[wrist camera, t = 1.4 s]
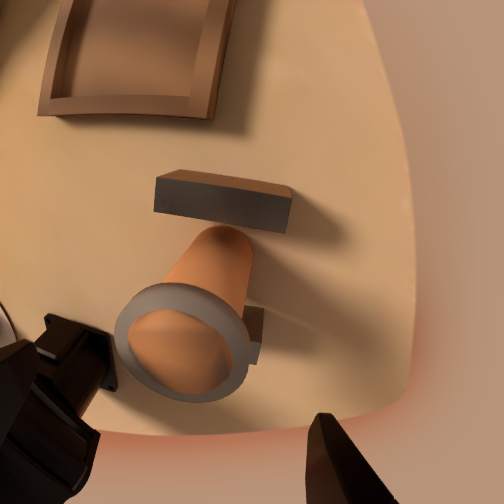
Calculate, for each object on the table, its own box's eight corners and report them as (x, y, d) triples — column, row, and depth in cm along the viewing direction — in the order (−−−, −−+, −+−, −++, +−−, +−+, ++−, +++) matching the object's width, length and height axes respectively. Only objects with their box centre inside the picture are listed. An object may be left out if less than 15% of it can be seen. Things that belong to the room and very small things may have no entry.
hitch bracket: (259, 329, 19) (256, 364, 16) (169, 311, 19) (151, 343, 16) (288, 186, 16) (292, 198, 13) (179, 169, 16) (156, 177, 13)
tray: (213, 120, 15) (206, 118, 13) (54, 116, 15) (37, 116, 13) (246, -42, 11) (243, -57, 9) (89, -26, 11) (76, -34, 9)
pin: (254, 296, 18) (238, 412, 10) (181, 283, 18) (121, 384, 10) (268, 224, 17) (260, 311, 8) (187, 210, 17) (109, 280, 8)
